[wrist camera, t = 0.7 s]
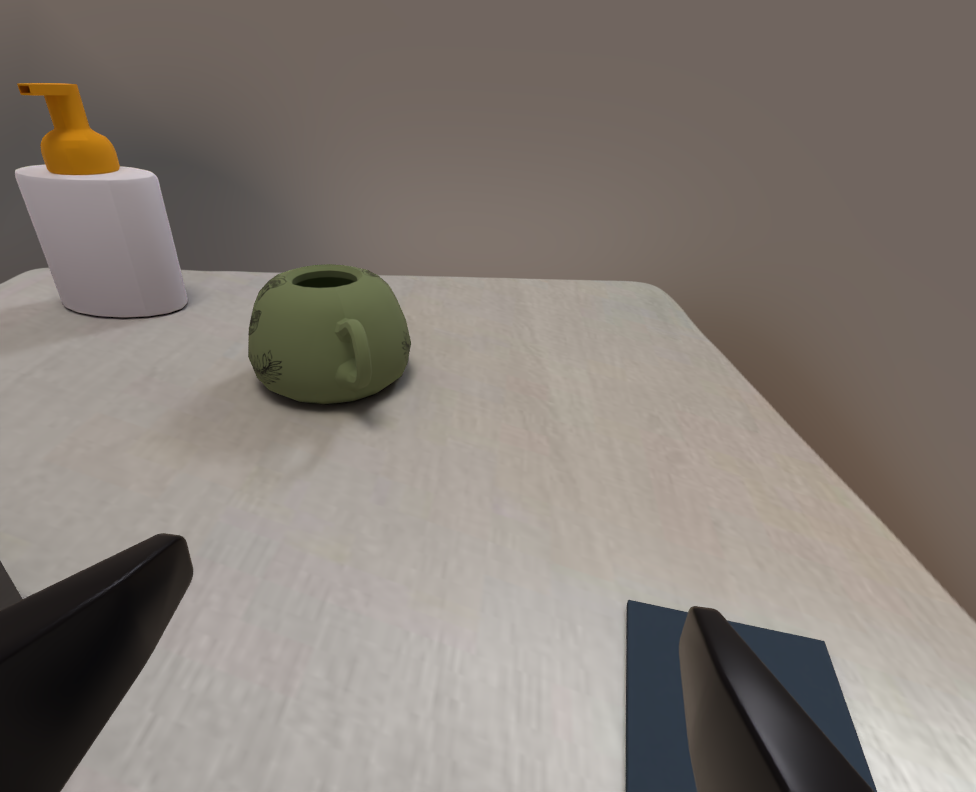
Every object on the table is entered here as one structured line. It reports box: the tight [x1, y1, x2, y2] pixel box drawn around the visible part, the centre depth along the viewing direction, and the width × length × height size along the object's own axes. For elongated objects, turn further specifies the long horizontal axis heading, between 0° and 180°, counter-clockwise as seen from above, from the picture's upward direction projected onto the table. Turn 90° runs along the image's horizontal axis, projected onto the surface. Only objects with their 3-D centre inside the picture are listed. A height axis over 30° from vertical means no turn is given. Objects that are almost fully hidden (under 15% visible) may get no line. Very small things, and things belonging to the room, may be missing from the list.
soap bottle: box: [15, 83, 188, 317], centre depth 52 cm, size 13×8×20 cm, turn 81°
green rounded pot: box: [248, 265, 411, 404], centre depth 43 cm, size 16×13×9 cm
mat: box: [626, 600, 877, 792], centre depth 20 cm, size 13×9×1 cm
